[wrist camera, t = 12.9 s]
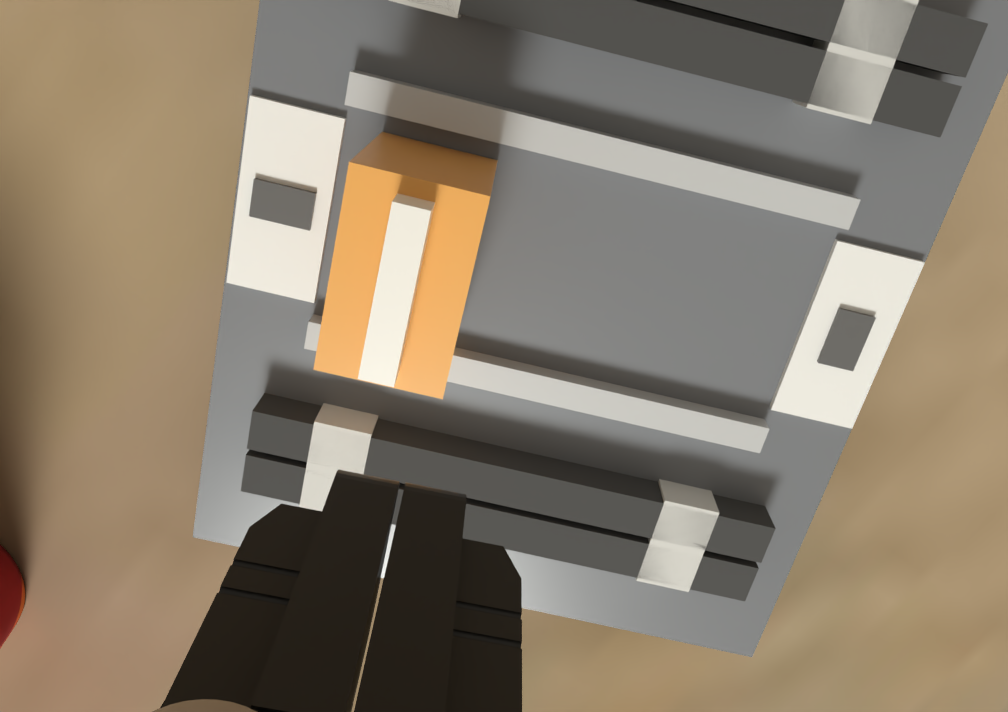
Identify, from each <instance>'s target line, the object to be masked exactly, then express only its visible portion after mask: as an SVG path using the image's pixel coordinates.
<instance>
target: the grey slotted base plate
mask: <svg viewBox="0 0 1008 712" xmlns="http://www.w3.org/2000/svg"><path fill="white" fill-rule="evenodd" d="M389 1H392V2H396V3H400V4H404V5H408V6H412V7H416V8H419V9H423V10H427V11H431V12H435V13H439V14H443V15H447V16H451V17H455V18H459V17H461V14H462V15H465V16H469V17H473V18H477V19H481V20H485V21H489V22H493V23H496V24H500V25H504V26H508V27H512V28H516V29H520V30H524V31H528V32H531V33H535V34H539V35H543V36H547V37H551V38H555V39H559V40H563V41H566V42H570V43H574V44H578V45H582V46H586V47H590V48H594V49H597V50H601V51H605V52H609V53H613V54H617V55H621V56H625V57H629V58H632V59H636V60H640V61H644V62H648V63H652V64H656V65H660V66H664V67H667V68H671V69H675V70H679V71H683V72H687V73H691V74H695V75H699V76H702V77H706V78H710V79H714V80H718V81H722V82H726V83H730V84H733V85H737V86H741V87H745V88H749V89H753V90H757V91H761V92H765V93H768V94H772V95H776V96H780V97H784V98H788V99H792V100H793V101H792V102H793V103H795V104H798V105H800V106H803V107H805V108H809V109H812V110H816V111H820V112H824V113H828V114H832V115H836V116H840V117H844V118H847V119H851V120H855V121H859V122H863V123H867V124H871V123H872V120H873V121H877V122H881V123H885V124H889V125H893V126H897V127H901V128H904V129H908V130H912V131H916V132H920V133H924V134H928V135H932V136H936V137H939V138H940V137H941V135H942V133H943V130H944V128H945V126H946V123H947V121H948V118H949V116H950V114H951V111H952V109H953V107H954V104H955V102H956V99H957V97H958V95H959V92H960V90H961V88H962V86H958V85H955V84H951V83H947V82H943V81H939V80H936V79H932V78H928V77H924V76H920V75H916V74H913V73H909V72H905V71H901V70H897V69H893V66H894V64H895V61H897V62H901V63H905V64H909V65H913V66H917V67H920V68H924V69H928V70H932V71H936V72H939V73H943V74H949V75H954V76H959V77H965V78H966V76H967V73H968V71H969V69H970V66H971V64H972V61H973V59H974V57H975V54H976V52H977V50H978V47H979V45H980V42H981V40H982V38H983V35H984V33H985V31H986V28H987V26H988V23H984V22H980V21H977V20H973V19H969V18H965V17H962V16H958V15H954V14H950V13H947V12H943V11H939V10H935V9H932V8H928V7H924V6H920V5H917V4H918V2H919V0H665V1H669V2H673V3H676V4H680V5H684V6H688V7H692V8H695V9H699V10H703V11H707V12H711V13H714V14H718V15H722V16H726V17H730V18H734V19H737V20H741V21H745V22H749V23H753V24H756V25H760V26H764V27H768V28H772V29H775V30H779V31H783V32H787V33H791V34H795V35H798V36H802V37H806V38H810V39H814V42H813V45H812V47H809V46H806V45H802V44H798V43H794V42H790V41H787V40H783V39H779V38H775V37H771V36H767V35H764V34H760V33H756V32H752V31H748V30H744V29H741V28H737V27H733V26H729V25H725V24H722V23H718V22H714V21H710V20H706V19H702V18H699V17H695V16H691V15H687V14H683V13H680V12H676V11H672V10H668V9H664V8H660V7H657V6H653V5H649V4H645V3H641V2H637V1H634V0H389ZM247 449H249V451H248V452H247V454H246V457H245V464H244V471H243V478H242V485H241V491H242V492H247V493H251V494H256V495H260V496H265V497H269V498H274V499H279V500H283V501H288V502H292V503H297V504H300V505H299V507H302V508H307V509H312V510H317V511H322V510H323V507H324V505H325V502H326V499H327V496H328V494H329V491H330V488H331V486H332V483H333V480H334V477H335V475H336V472H337V470H338V469H339V470H344V471H349V472H354V473H359V474H364V475H370V476H375V477H380V478H385V479H390V480H395V481H400V484H399V490H398V495H397V500H396V505H395V510H394V515H393V520H392V524H393V525H396V522H397V518H398V513H399V509H400V505H401V500H402V496H403V491H404V487H405V483H411V484H416V485H421V486H426V487H432V488H437V489H442V490H447V491H452V492H457V493H462V494H466V495H467V498H466V509H465V519H464V528H463V539H468V540H474V541H479V542H484V543H489V544H494V545H499V546H504V548H505V549H507V550H512V551H516V552H521V553H525V554H530V555H535V556H539V557H544V558H548V559H553V560H557V561H562V562H567V563H571V564H576V565H580V566H585V567H589V568H594V569H599V570H603V571H608V572H612V573H617V574H621V575H626V576H631V577H635V578H636V581H640V582H644V583H649V584H654V585H658V586H663V587H667V588H672V589H676V590H681V591H686V592H689V590H695V591H699V592H704V593H708V594H713V595H717V596H722V597H727V598H731V599H736V600H740V601H745V600H746V598H747V596H748V593H749V591H750V588H751V586H752V584H753V581H754V579H755V577H756V574H757V572H758V569H759V568H758V565H757V563H756V562H759V563H761V562H762V560H763V558H764V555H765V553H766V550H767V548H768V546H769V543H770V541H771V539H772V536H773V534H774V531H775V529H776V528H775V526H774V524H773V522H772V520H771V517H770V515H769V513H768V511H767V509H766V507H765V506H763V505H758V504H754V503H749V502H745V501H740V500H736V499H732V498H727V497H723V496H718V495H714V494H712V491H710V490H706V489H701V488H697V487H692V486H688V485H683V484H679V483H675V482H670V481H666V480H661V479H659V481H658V482H657V481H652V480H648V479H643V478H639V477H634V476H630V475H626V474H621V473H617V472H612V471H608V470H603V469H599V468H595V467H590V466H586V465H581V464H577V463H573V462H568V461H564V460H559V459H555V458H550V457H546V456H542V455H537V454H533V453H528V452H524V451H519V450H515V449H511V448H506V447H502V446H497V445H493V444H489V443H484V442H480V441H475V440H471V439H466V438H462V437H458V436H453V435H449V434H444V433H440V432H436V431H431V430H427V429H422V428H418V427H413V426H409V425H405V424H400V423H396V422H391V421H387V420H382V419H378V415H374V414H370V413H366V412H361V411H357V410H352V409H348V408H344V407H339V406H335V405H330V404H326V403H323V405H322V406H321V405H316V404H312V403H307V402H303V401H299V400H294V399H290V398H285V397H281V396H276V395H272V394H268V393H264V394H263V396H262V397H261V399H260V400H259V402H258V403H257V405H256V406H255V408H254V409H253V411H252V416H251V423H250V430H249V437H248V444H247Z"/></svg>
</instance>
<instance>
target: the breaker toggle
mask: <svg viewBox="0 0 1008 712" xmlns="http://www.w3.org/2000/svg"><path fill="white" fill-rule="evenodd" d="M497 162H498V160H494V159H490V158H486V157H482V156H478V155H474V154H470V153H466V152H462V151H458V150H454V149H450V148H446V147H442V146H438V145H434V144H430V143H426V142H422V141H418V140H414V139H410V138H405V137H401V136H397V135H393V134H389V133H385V132H381V133H380V134H379V135H378V136H377V137H376V138H375V139H374V140H372V141H371V142H370V143H369V144H368V145H367V146H366V147H365V148H364V149H363V150H361V151H360V152H359V153H358V154H357V155H356V156H355V157H354V158H353V159H352V160H350V161H349V165H348V170H347V176H346V182H345V188H344V194H343V200H342V205H341V211H340V217H339V223H338V229H337V235H336V240H335V246H334V252H333V258H332V264H331V269H330V275H329V281H328V287H327V293H326V299H325V304H324V310H323V316H322V322H321V328H320V333H319V339H318V345H317V351H316V357H315V363H314V368H313V370H317V371H321V372H325V373H330V374H334V375H339V376H343V377H347V378H352V379H356V380H360V381H365V382H369V383H374V384H378V385H382V386H387V387H391V388H395V389H400V390H404V391H408V392H413V393H417V394H422V395H426V396H430V397H435V398H439V399H443V396H444V392H445V387H446V383H447V379H448V375H449V371H450V366H451V362H452V358H453V354H454V349H455V345H456V341H457V337H458V332H459V328H460V324H461V320H462V315H463V311H464V307H465V303H466V299H467V294H468V290H469V286H470V282H471V277H472V273H473V269H474V265H475V260H476V256H477V252H478V248H479V243H480V239H481V235H482V231H483V227H484V222H485V218H486V214H487V210H488V205H489V201H490V197H491V192H492V187H493V182H494V177H495V172H496V167H497Z"/></svg>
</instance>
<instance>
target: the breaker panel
mask: <svg viewBox="0 0 1008 712" xmlns="http://www.w3.org/2000/svg"><path fill="white" fill-rule="evenodd" d="M634 1H637V2H641V3H645V4H649V5H653V6H657V7H660V8H664V9H668V10H672V11H676V12H680V13H683V14H687V15H691V16H695V17H699V18H702V19H706V20H710V21H714V22H718V23H722V24H725V25H729V26H733V27H737V28H741V29H744V30H748V31H752V32H756V33H760V34H764V35H767V36H771V37H775V38H779V39H783V40H787V41H790V42H794V43H798V44H802V45H806V46H809V47H812V45H813V42H814V39H810V38H806V37H802V36H798V35H795V34H791V33H787V32H783V31H779V30H775V29H772V28H768V27H764V26H760V25H756V24H753V23H749V22H745V21H741V20H737V19H734V18H730V17H726V16H722V15H718V14H714V13H711V12H707V11H703V10H699V9H695V8H692V7H688V6H684V5H680V4H676V3H673V2H669V1H665V0H634ZM917 5H920V6H924V7H928V8H932V9H935V10H939V11H943V12H947V13H950V14H954V15H958V16H962V17H965V18H969V19H973V20H977V21H980V22H984V23H988V26H987V28H986V31H985V33H984V35H983V38H982V40H981V42H980V45H979V47H978V50H977V52H976V54H975V57H974V59H973V61H972V64H971V66H970V69H969V71H968V73H967V76H966V78H965V77H959V76H954V75H949V74H943V73H939V72H936V71H932V70H928V69H924V68H920V67H917V66H913V65H909V64H905V63H901V62H897V61H895V64H894V66H893V69H897V70H901V71H905V72H909V73H913V74H916V75H920V76H924V77H928V78H932V79H936V80H939V81H943V82H947V83H951V84H955V85H958V86H962V88H961V90H960V92H959V95H958V97H957V99H956V102H955V104H954V107H953V109H952V111H951V114H950V116H949V118H948V121H947V123H946V126H945V128H944V130H943V133H942V135H941V137H940V138H939V137H936V136H932V135H928V134H924V133H920V132H916V131H912V130H908V129H904V128H901V127H897V126H893V125H889V124H885V123H881V122H877V121H873V120H872V123H871V124H867V123H863V122H859V121H855V120H851V119H847V118H844V117H840V116H836V115H832V114H828V113H824V112H820V111H816V110H812V109H809V108H805V107H803V106H800V105H798V104H795V103H793V102H792V101H793V100H792V99H788V98H784V97H780V96H776V95H772V94H768V93H765V92H761V91H757V90H753V89H749V88H745V87H741V86H737V85H733V84H730V83H726V82H722V81H718V80H714V79H710V78H706V77H702V76H699V75H695V74H691V73H687V72H683V71H679V70H675V69H671V68H667V67H664V66H660V65H656V64H652V63H648V62H644V61H640V60H636V59H632V58H629V57H625V56H621V55H617V54H613V53H609V52H605V51H601V50H597V49H594V48H590V47H586V46H582V45H578V44H574V43H570V42H566V41H563V40H559V39H555V38H551V37H547V36H543V35H539V34H535V33H531V32H528V31H524V30H520V29H516V28H512V27H508V26H504V25H500V24H496V23H493V22H489V21H485V20H481V19H477V18H473V17H469V16H465V15H462V14H461V17H459V18H455V17H451V16H447V15H443V14H439V13H435V12H431V11H427V10H423V9H419V8H416V7H412V6H408V5H404V4H400V3H396V2H392V1H389V0H260V3H259V11H258V19H257V27H256V35H255V43H254V51H253V59H252V67H251V75H250V83H249V91H248V99H247V107H246V115H245V123H244V131H243V139H242V147H241V155H240V163H239V171H238V179H237V187H236V195H235V203H234V211H233V219H232V228H231V236H230V244H229V252H228V260H227V268H226V276H225V284H224V292H223V300H222V308H221V316H220V324H219V332H218V340H217V348H216V356H215V364H214V372H213V380H212V388H211V396H210V404H209V412H208V420H207V428H206V436H205V444H204V452H203V460H202V468H201V476H200V484H199V492H198V500H197V508H196V516H195V524H194V532H193V537H195V538H199V539H204V540H209V541H213V542H218V543H223V544H227V545H232V546H237V547H240V545H241V543H242V541H243V539H244V537H245V535H246V533H247V531H248V529H249V527H250V526H251V525H253V524H254V523H255V522H257V521H258V520H260V519H261V518H262V517H264V516H265V515H266V514H268V513H269V512H270V511H272V510H273V509H275V508H276V507H277V506H279V505H280V504H287V505H292V506H297V507H299V505H300V504H297V503H292V502H288V501H283V500H279V499H274V498H269V497H265V496H260V495H256V494H251V493H247V492H242V491H241V485H242V478H243V471H244V464H245V457H246V454H247V452H248V451H249V449H247V444H248V437H249V430H250V423H251V416H252V411H253V409H254V408H255V406H256V405H257V403H258V402H259V400H260V399H261V397H262V396H263V394H264V393H268V394H272V395H276V396H281V397H285V398H290V399H294V400H299V401H303V402H307V403H312V404H316V405H321V406H322V405H323V403H326V404H330V405H335V406H339V407H344V408H348V409H352V410H357V411H361V412H366V413H370V414H374V415H378V419H382V420H387V421H391V422H396V423H400V424H405V425H409V426H413V427H418V428H422V429H427V430H431V431H436V432H440V433H444V434H449V435H453V436H458V437H462V438H466V439H471V440H475V441H480V442H484V443H489V444H493V445H497V446H502V447H506V448H511V449H515V450H519V451H524V452H528V453H533V454H537V455H542V456H546V457H550V458H555V459H559V460H564V461H568V462H573V463H577V464H581V465H586V466H590V467H595V468H599V469H603V470H608V471H612V472H617V473H621V474H626V475H630V476H634V477H639V478H643V479H648V480H652V481H657V482H658V481H659V479H661V480H666V481H670V482H675V483H679V484H683V485H688V486H692V487H697V488H701V489H706V490H710V491H712V494H714V495H718V496H723V497H727V498H732V499H736V500H740V501H745V502H749V503H754V504H758V505H763V506H765V507H766V509H767V511H768V513H769V515H770V517H771V520H772V522H773V524H774V526H775V528H776V529H775V531H774V534H773V536H772V539H771V541H770V543H769V546H768V548H767V550H766V553H765V555H764V558H763V560H762V562H761V563H759V562H756V563H757V565H758V568H759V569H758V572H757V574H756V577H755V579H754V581H753V584H752V586H751V588H750V591H749V593H748V596H747V598H746V600H745V601H740V600H736V599H731V598H727V597H722V596H717V595H713V594H708V593H704V592H699V591H695V590H689V592H686V591H681V590H676V589H672V588H667V587H663V586H658V585H654V584H649V583H644V582H640V581H636V578H635V577H631V576H626V575H621V574H617V573H612V572H608V571H603V570H599V569H594V568H589V567H585V566H580V565H576V564H571V563H567V562H562V561H557V560H553V559H548V558H544V557H539V556H535V555H530V554H525V553H521V552H516V551H512V550H507V549H505V550H506V552H507V554H508V555H509V557H510V559H511V561H512V563H513V564H514V566H515V568H516V570H517V571H518V573H519V575H520V577H521V579H522V608H525V609H530V610H535V611H539V612H544V613H549V614H553V615H558V616H563V617H567V618H572V619H577V620H581V621H586V622H591V623H595V624H600V625H605V626H609V627H614V628H619V629H623V630H628V631H633V632H637V633H642V634H647V635H651V636H656V637H661V638H665V639H670V640H675V641H679V642H684V643H688V644H693V645H698V646H702V647H707V648H712V649H716V650H721V651H726V652H730V653H735V654H740V655H744V656H749V657H752V656H753V654H754V651H755V649H756V647H757V644H758V642H759V640H760V638H761V635H762V633H763V631H764V629H765V626H766V624H767V622H768V619H769V617H770V615H771V613H772V610H773V608H774V606H775V603H776V601H777V599H778V597H779V594H780V592H781V590H782V587H783V585H784V583H785V581H786V578H787V576H788V574H789V571H790V569H791V567H792V565H793V562H794V560H795V558H796V555H797V553H798V551H799V549H800V546H801V544H802V542H803V539H804V537H805V535H806V533H807V530H808V528H809V526H810V523H811V521H812V519H813V517H814V514H815V512H816V510H817V507H818V505H819V503H820V501H821V498H822V496H823V494H824V491H825V489H826V487H827V485H828V482H829V480H830V478H831V475H832V473H833V471H834V469H835V466H836V464H837V462H838V459H839V457H840V455H841V453H842V450H843V448H844V446H845V443H846V441H847V439H848V437H849V434H850V432H851V430H852V428H853V425H854V423H855V421H856V419H857V416H858V414H859V412H860V409H861V407H862V405H863V403H864V400H865V398H866V396H867V393H868V391H869V389H870V387H871V384H872V382H873V380H874V377H875V375H876V373H877V371H878V368H879V366H880V364H881V361H882V359H883V357H884V355H885V352H886V350H887V348H888V346H889V343H890V341H891V339H892V336H893V334H894V332H895V330H896V327H897V325H898V323H899V320H900V318H901V316H902V314H903V311H904V309H905V307H906V304H907V302H908V300H909V298H910V295H911V293H912V291H913V288H914V286H915V284H916V282H917V279H918V277H919V275H920V272H921V270H922V268H923V266H924V263H925V261H926V258H927V256H928V254H929V252H930V249H931V247H932V245H933V242H934V240H935V238H936V236H937V233H938V231H939V229H940V227H941V224H942V222H943V220H944V217H945V215H946V213H947V211H948V208H949V206H950V204H951V201H952V199H953V197H954V195H955V192H956V190H957V188H958V185H959V183H960V181H961V179H962V176H963V174H964V172H965V169H966V167H967V165H968V163H969V160H970V158H971V156H972V153H973V151H974V149H975V147H976V144H977V142H978V140H979V137H980V135H981V133H982V131H983V128H984V126H985V124H986V121H987V119H988V117H989V115H990V112H991V110H992V108H993V105H994V103H995V101H996V99H997V96H998V94H999V92H1000V89H1001V87H1002V85H1003V83H1004V80H1005V78H1006V76H1007V73H1008V0H919V2H918V4H917ZM381 132H385V133H389V134H393V135H397V136H401V137H405V138H410V139H414V140H418V141H422V142H426V143H430V144H434V145H438V146H442V147H446V148H450V149H454V150H458V151H462V152H466V153H470V154H474V155H478V156H482V157H486V158H490V159H494V160H498V162H497V167H496V172H495V177H494V182H493V187H492V192H491V197H490V201H489V205H488V210H487V214H486V218H485V222H484V227H483V231H482V235H481V239H480V243H479V248H478V252H477V256H476V260H475V265H474V269H473V273H472V277H471V282H470V286H469V290H468V294H467V299H466V303H465V307H464V311H463V315H462V320H461V324H460V328H459V332H458V337H457V341H456V345H455V349H454V354H453V358H452V362H451V366H450V371H449V375H448V379H447V383H446V387H445V392H444V396H443V399H439V398H435V397H430V396H426V395H422V394H417V393H413V392H408V391H404V390H400V389H395V388H391V387H387V386H382V385H378V384H374V383H369V382H365V381H360V380H356V379H352V378H347V377H343V376H339V375H334V374H330V373H325V372H321V371H317V370H313V368H314V363H315V357H316V351H317V345H318V339H319V333H320V328H321V322H322V316H323V310H324V304H325V299H326V293H327V287H328V281H329V275H330V269H331V264H332V258H333V252H334V246H335V240H336V235H337V229H338V223H339V217H340V211H341V205H342V200H343V194H344V188H345V182H346V176H347V170H348V165H349V161H350V160H352V159H353V158H354V157H355V156H356V155H357V154H358V153H359V152H360V151H361V150H363V149H364V148H365V147H366V146H367V145H368V144H369V143H370V142H371V141H372V140H374V139H375V138H376V137H377V136H378V135H379V134H380V133H381ZM395 527H396V525H393V524H392V525H391V529H390V534H389V539H388V544H387V549H386V554H385V559H384V564H383V569H382V574H381V578H384V576H385V571H386V567H387V563H388V558H389V554H390V549H391V545H392V540H393V536H394V531H395Z"/></svg>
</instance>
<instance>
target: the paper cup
mask: <svg viewBox="0 0 1008 712" xmlns="http://www.w3.org/2000/svg"><path fill="white" fill-rule="evenodd" d="M24 604H25V586H24V581H23V578H22V575H21V573H20V570H19V568H18V566H17V565H16V563H15V561H14V560H13V558H12V557H11V556H10V554H9V553H8V552H7V551H6V550H5V548H4V547H3V546H2V545H1V544H0V648H1V647H2V645H3V644H4V642H5V641H6V639H7V638H8V636H9V635H10V633H11V631H12V630H13V628H14V627H15V625H16V623H17V622H18V620H19V618H20V616H21V613H22V611H23V608H24Z"/></svg>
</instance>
